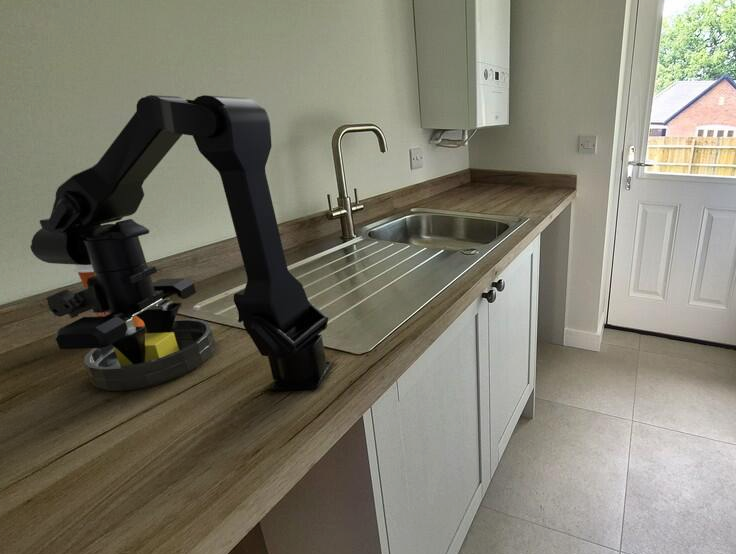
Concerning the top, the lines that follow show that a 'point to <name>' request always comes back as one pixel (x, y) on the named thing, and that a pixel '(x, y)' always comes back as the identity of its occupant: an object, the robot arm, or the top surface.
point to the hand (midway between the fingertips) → (150, 357)
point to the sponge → (153, 347)
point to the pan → (192, 353)
